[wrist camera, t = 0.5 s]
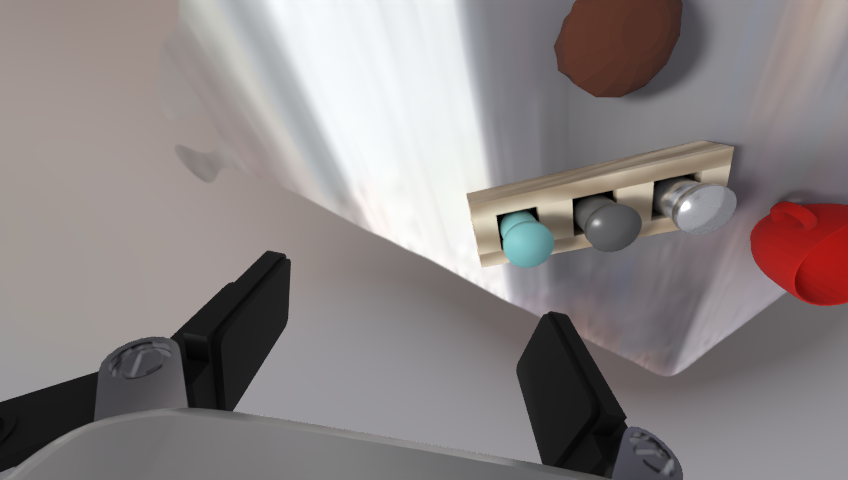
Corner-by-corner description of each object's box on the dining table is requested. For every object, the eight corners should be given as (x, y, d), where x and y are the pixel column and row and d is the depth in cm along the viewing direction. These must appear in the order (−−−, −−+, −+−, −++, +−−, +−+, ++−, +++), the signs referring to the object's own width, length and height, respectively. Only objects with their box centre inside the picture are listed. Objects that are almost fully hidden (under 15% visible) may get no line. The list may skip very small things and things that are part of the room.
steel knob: (647, 178, 40) (681, 193, 34) (698, 167, 39) (741, 180, 34) (644, 219, 43) (676, 239, 37) (692, 210, 42) (731, 229, 36)
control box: (466, 193, 46) (469, 205, 41) (701, 140, 41) (734, 146, 37) (478, 252, 50) (482, 269, 46) (692, 210, 46) (719, 223, 41)
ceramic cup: (785, 152, 42) (880, 170, 33) (841, 224, 46) (939, 257, 37) (695, 221, 47) (756, 253, 38) (753, 280, 51) (821, 322, 42)
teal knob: (493, 211, 43) (501, 230, 37) (537, 201, 42) (552, 219, 36) (499, 248, 45) (507, 271, 40) (540, 240, 44) (555, 262, 39)
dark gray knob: (567, 195, 41) (588, 212, 36) (615, 185, 41) (643, 200, 35) (569, 234, 44) (589, 256, 38) (614, 225, 43) (640, 246, 38)
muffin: (657, 53, 37) (727, 43, 28) (572, 115, 41) (611, 124, 32) (614, -46, 33) (680, -94, 24) (525, 32, 37) (554, 15, 28)
